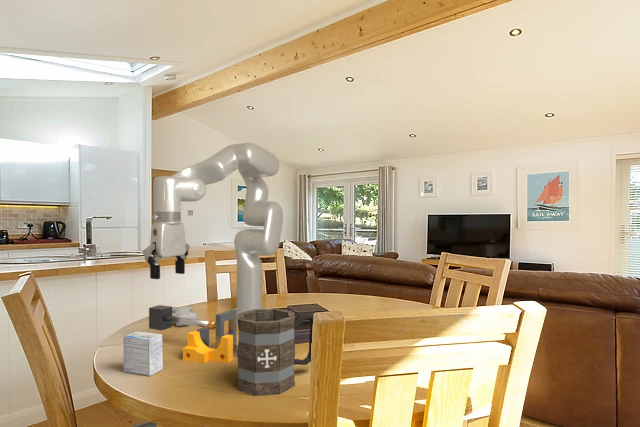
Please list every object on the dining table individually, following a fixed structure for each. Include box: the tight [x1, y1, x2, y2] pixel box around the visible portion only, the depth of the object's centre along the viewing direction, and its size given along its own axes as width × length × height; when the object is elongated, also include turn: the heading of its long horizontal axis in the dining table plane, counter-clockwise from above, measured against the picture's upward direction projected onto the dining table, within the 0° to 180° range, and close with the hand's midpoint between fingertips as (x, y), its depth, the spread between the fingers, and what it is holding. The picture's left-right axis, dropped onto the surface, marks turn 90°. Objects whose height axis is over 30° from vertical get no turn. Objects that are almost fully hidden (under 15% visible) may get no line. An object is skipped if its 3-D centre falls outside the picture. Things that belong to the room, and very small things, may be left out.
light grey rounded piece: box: [171, 305, 198, 327], centre depth 141 cm, size 10×5×15 cm
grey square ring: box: [195, 308, 238, 359], centre depth 110 cm, size 13×7×11 cm, turn 66°
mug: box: [236, 308, 313, 397], centre depth 92 cm, size 20×14×15 cm
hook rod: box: [148, 304, 216, 331], centre depth 115 cm, size 23×4×6 cm, turn 66°
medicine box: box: [123, 331, 164, 377], centre depth 96 cm, size 8×4×9 cm, turn 71°
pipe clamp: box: [182, 330, 234, 364], centre depth 104 cm, size 12×4×6 cm, turn 72°
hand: (168, 276), depth 120 cm, fingers open, 9 cm apart
